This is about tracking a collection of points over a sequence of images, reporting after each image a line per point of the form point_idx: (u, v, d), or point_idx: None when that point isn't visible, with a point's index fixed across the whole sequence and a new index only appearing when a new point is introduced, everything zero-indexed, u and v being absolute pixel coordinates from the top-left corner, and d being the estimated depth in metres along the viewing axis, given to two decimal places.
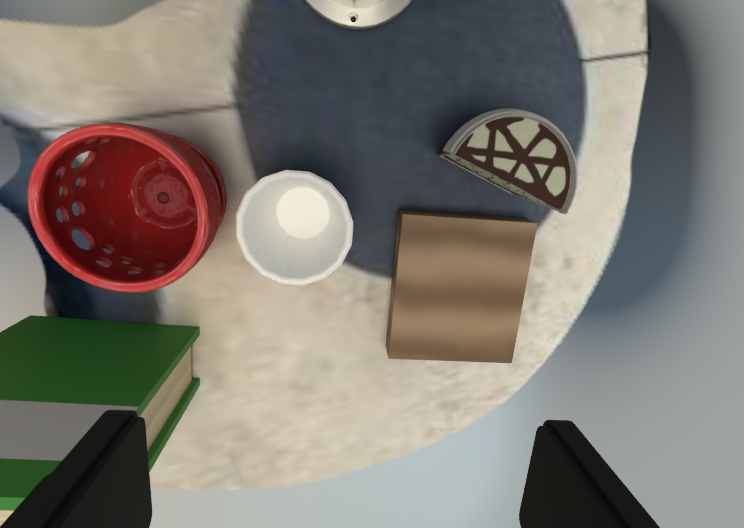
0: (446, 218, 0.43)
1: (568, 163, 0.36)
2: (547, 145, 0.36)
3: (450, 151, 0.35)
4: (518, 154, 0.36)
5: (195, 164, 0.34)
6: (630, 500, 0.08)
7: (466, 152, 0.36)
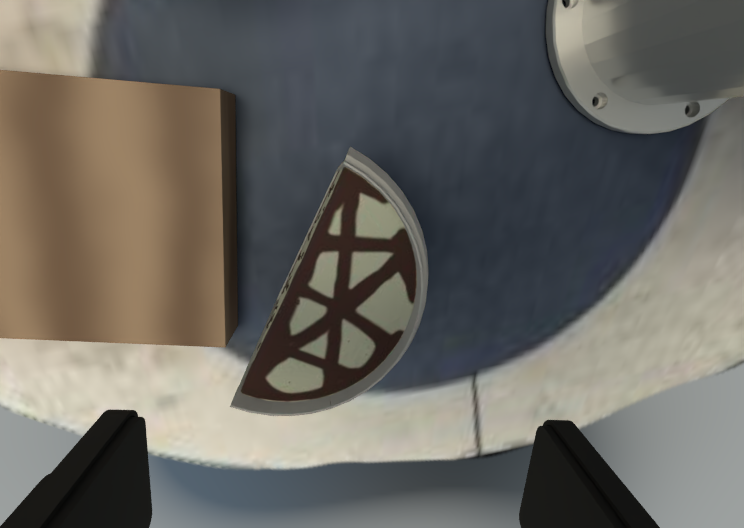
0: (219, 181, 0.22)
1: (329, 392, 0.19)
2: (361, 351, 0.19)
3: (348, 156, 0.16)
4: (345, 299, 0.18)
5: None
6: (630, 500, 0.08)
7: (347, 193, 0.17)
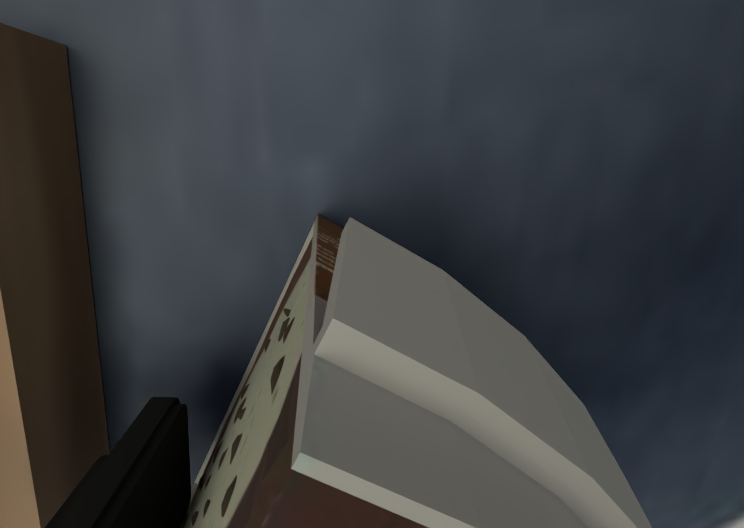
0: None
1: None
2: None
3: (343, 332, 0.02)
4: None
5: None
6: None
7: None
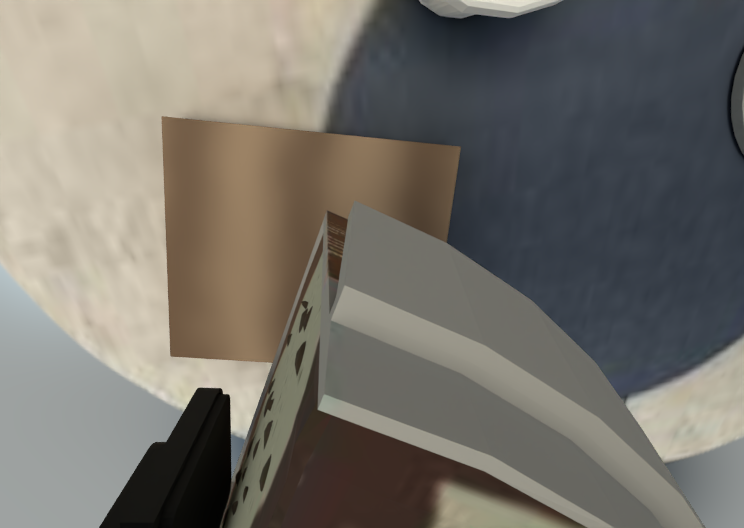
0: (446, 226, 0.25)
1: None
2: None
3: (356, 298, 0.02)
4: None
5: None
6: None
7: (365, 486, 0.03)
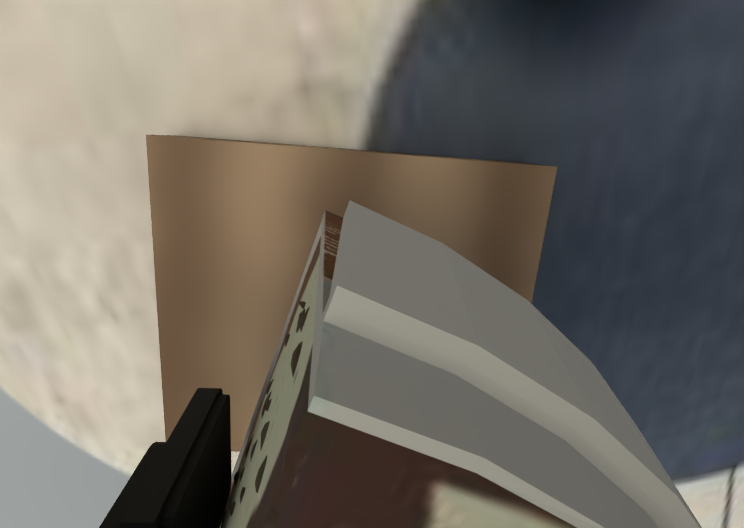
0: (534, 272, 0.19)
1: None
2: None
3: (349, 299, 0.02)
4: None
5: None
6: None
7: (359, 488, 0.03)
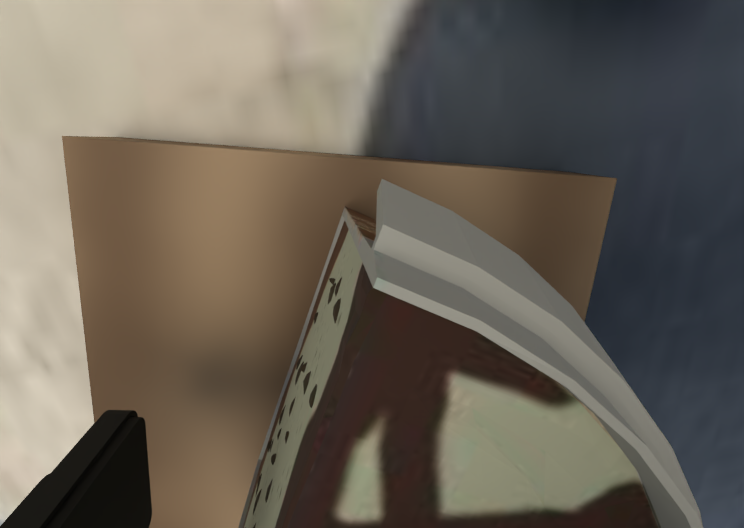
0: (582, 314, 0.14)
1: None
2: None
3: (390, 234, 0.04)
4: None
5: None
6: None
7: (395, 377, 0.04)
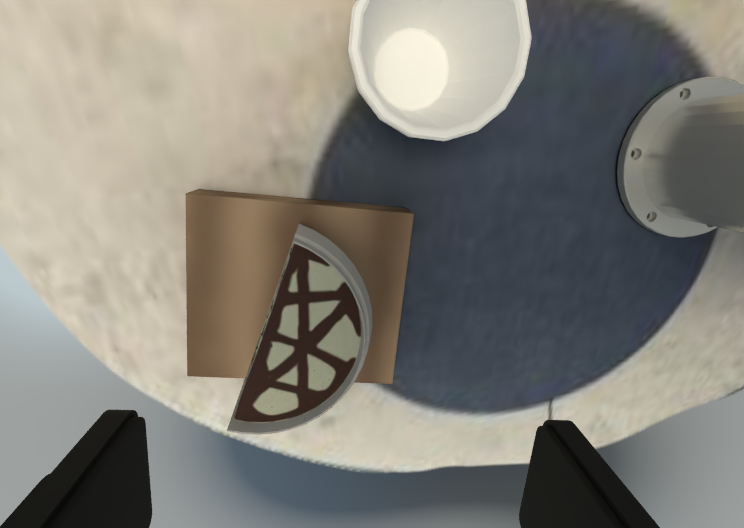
0: (404, 272, 0.33)
1: (304, 411, 0.24)
2: (325, 376, 0.24)
3: (296, 235, 0.22)
4: (307, 338, 0.23)
5: None
6: (630, 500, 0.08)
7: (299, 260, 0.22)
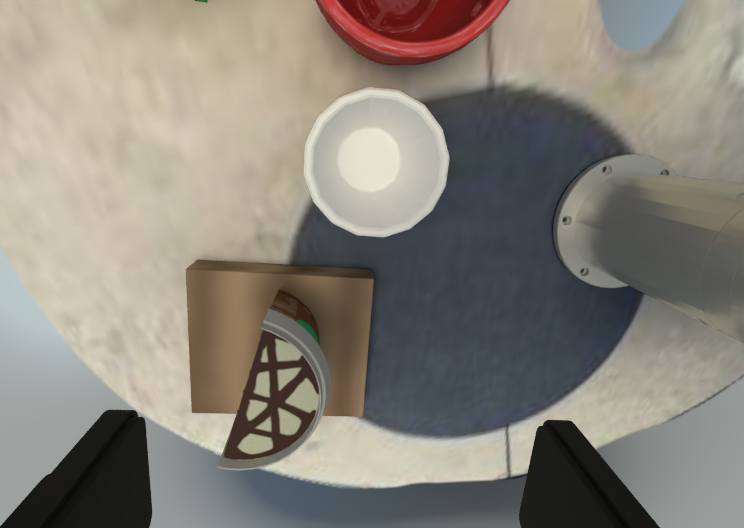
0: (368, 326, 0.39)
1: (277, 451, 0.31)
2: (293, 424, 0.31)
3: (265, 321, 0.28)
4: (277, 396, 0.30)
5: (466, 44, 0.27)
6: (630, 500, 0.08)
7: (267, 339, 0.29)
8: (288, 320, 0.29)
